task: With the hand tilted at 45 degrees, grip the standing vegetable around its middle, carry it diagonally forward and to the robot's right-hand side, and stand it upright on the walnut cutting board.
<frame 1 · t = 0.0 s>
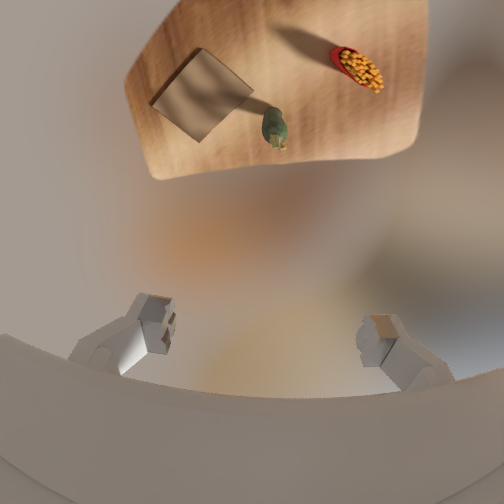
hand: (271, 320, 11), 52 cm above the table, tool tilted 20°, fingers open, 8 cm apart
cutting board: (201, 95, 50), on the table
vegetable: (273, 109, 52), on the table
french fries: (345, 61, 42), on the table
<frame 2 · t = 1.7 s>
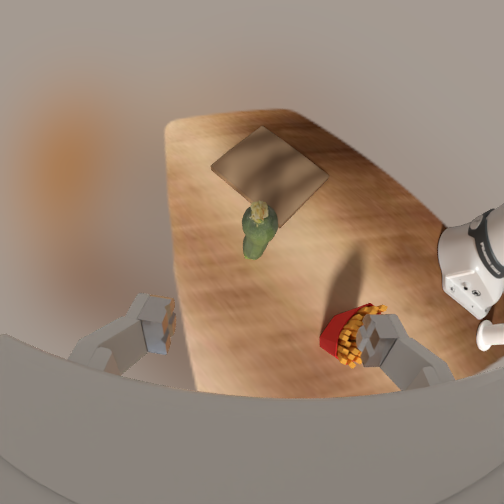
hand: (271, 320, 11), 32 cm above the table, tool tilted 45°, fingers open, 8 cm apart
cutting board: (270, 173, 50), on the table
vegetable: (255, 253, 46), on the table
french fries: (335, 334, 42), on the table
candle: (483, 335, 42), on the table
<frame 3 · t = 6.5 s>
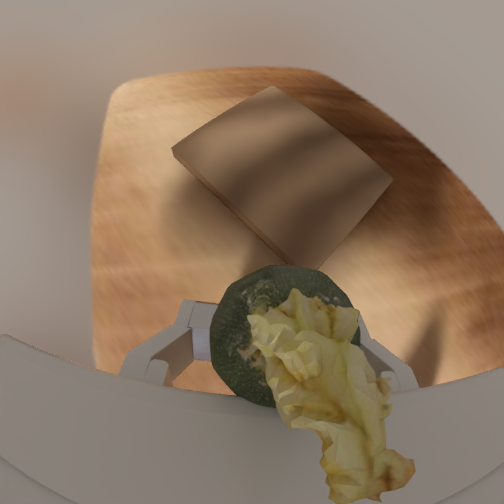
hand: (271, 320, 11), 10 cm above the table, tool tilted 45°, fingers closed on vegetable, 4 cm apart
cutting board: (286, 167, 25), on the table
vegetable: (253, 333, 21), on the table, touching gripper
when the fingers open (13 cm above the table, at t = 16.1 s): vegetable stays where it is, resting on cutting board.
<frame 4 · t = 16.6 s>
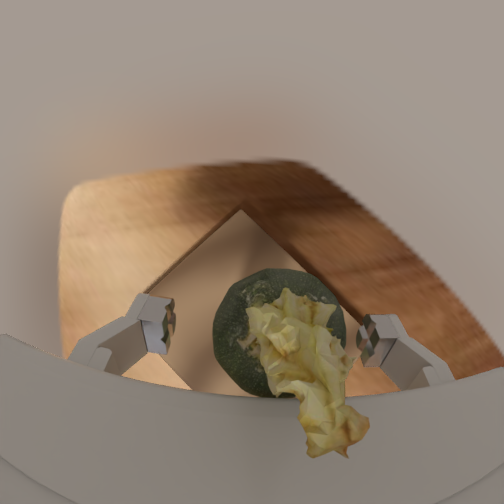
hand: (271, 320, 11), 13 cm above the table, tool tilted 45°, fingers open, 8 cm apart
cutting board: (251, 333, 23), on the table
vegetable: (252, 333, 22), point 1 cm above the table, touching cutting board
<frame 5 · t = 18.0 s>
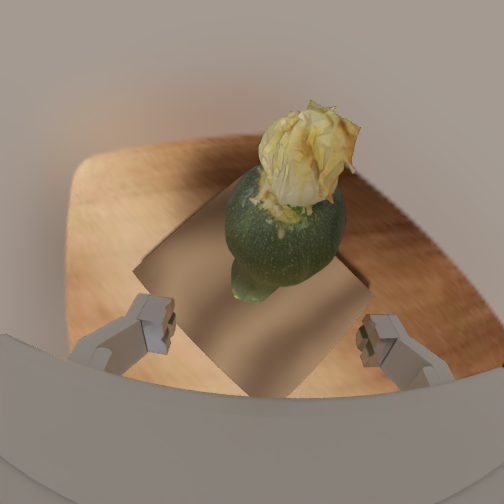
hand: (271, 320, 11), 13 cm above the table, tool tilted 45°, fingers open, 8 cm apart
cutting board: (255, 289, 24), on the table
vegetable: (256, 287, 23), point 1 cm above the table, touching cutting board
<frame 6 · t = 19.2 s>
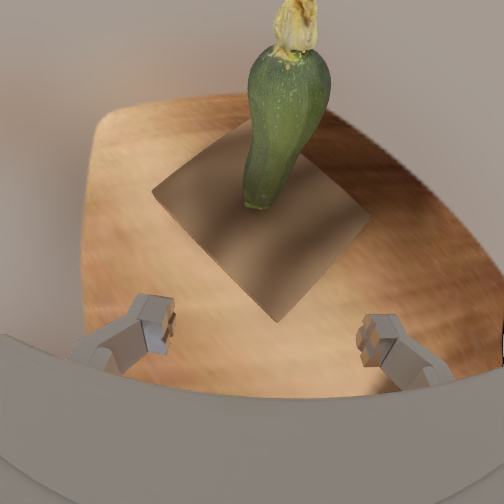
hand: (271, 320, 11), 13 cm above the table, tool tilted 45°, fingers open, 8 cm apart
cutting board: (262, 207, 27), on the table
vegetable: (264, 202, 25), point 1 cm above the table, touching cutting board
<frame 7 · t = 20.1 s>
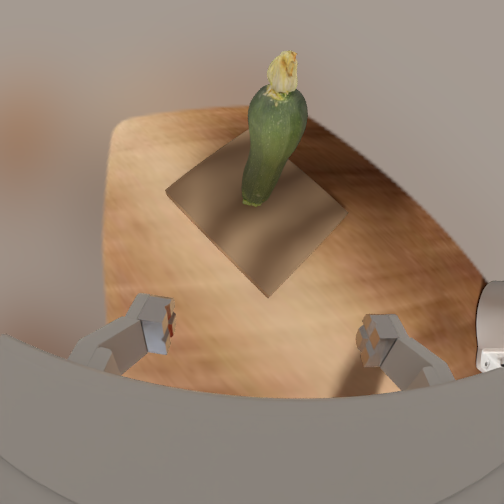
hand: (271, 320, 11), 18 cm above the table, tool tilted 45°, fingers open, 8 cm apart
cutting board: (257, 205, 32), on the table
vegetable: (258, 200, 31), point 1 cm above the table, touching cutting board
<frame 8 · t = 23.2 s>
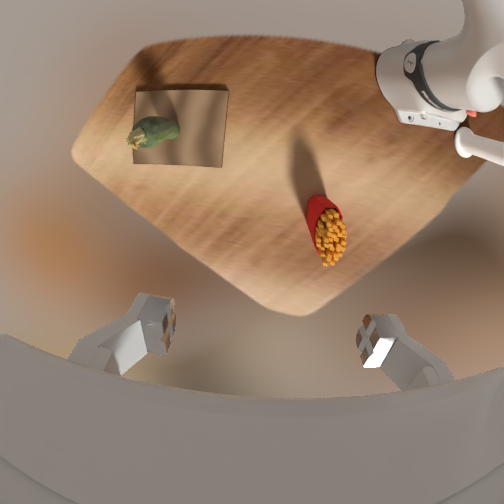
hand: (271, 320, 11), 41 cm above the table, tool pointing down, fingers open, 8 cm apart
cutting board: (179, 127, 44), on the table
vegetable: (177, 127, 43), point 1 cm above the table, touching cutting board
french fries: (317, 213, 52), on the table
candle: (463, 141, 42), on the table
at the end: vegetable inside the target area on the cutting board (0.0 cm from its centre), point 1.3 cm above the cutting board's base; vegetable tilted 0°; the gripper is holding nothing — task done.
